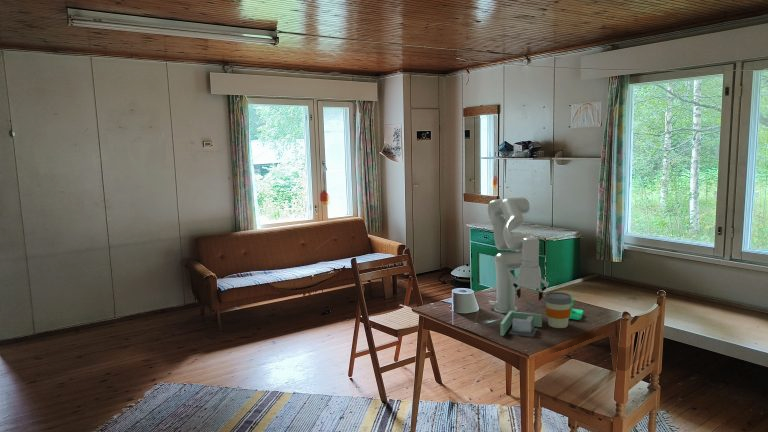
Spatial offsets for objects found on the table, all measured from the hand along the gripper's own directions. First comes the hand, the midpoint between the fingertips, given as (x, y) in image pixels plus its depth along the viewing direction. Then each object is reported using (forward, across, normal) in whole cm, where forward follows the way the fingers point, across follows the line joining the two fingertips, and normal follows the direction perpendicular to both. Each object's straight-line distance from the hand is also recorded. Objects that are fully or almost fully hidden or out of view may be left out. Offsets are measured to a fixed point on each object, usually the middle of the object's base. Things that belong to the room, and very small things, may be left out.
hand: (529, 298), depth 251 cm
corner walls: (+16, -3, -1) cm, 17 cm away
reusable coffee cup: (+16, +12, +13) cm, 24 cm away
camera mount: (+17, +17, +28) cm, 37 cm away
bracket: (+16, -3, -1) cm, 16 cm away
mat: (+16, -2, -2) cm, 16 cm away
